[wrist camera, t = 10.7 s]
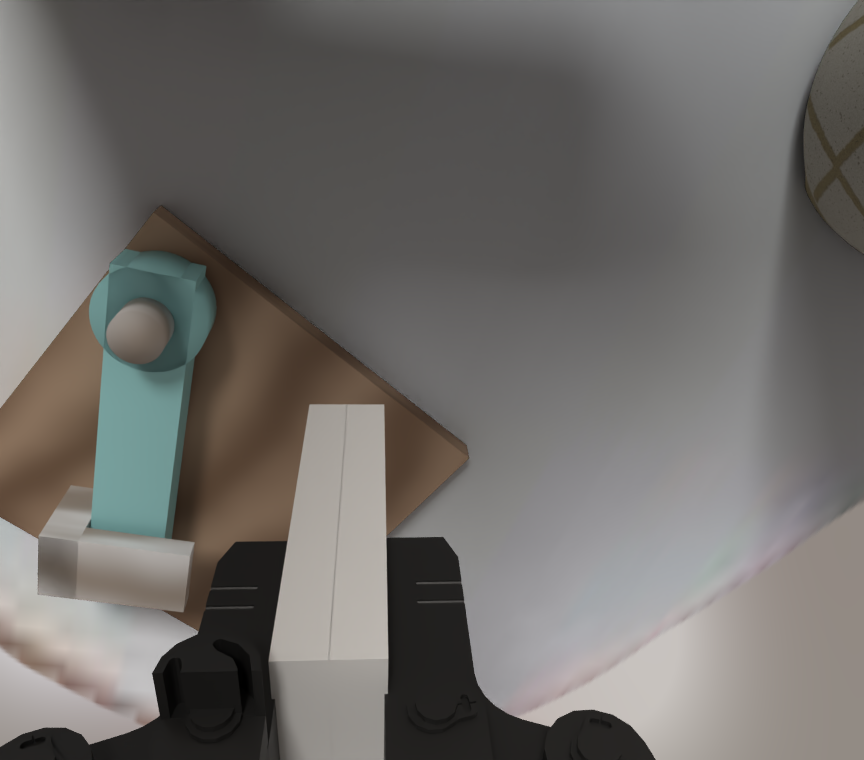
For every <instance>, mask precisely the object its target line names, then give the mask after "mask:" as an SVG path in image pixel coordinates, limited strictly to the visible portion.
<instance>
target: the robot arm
mask: <svg viewBox="0 0 864 760" xmlns="http://www.w3.org/2000/svg"><path fill="white" fill-rule="evenodd" d="M152 675H153V680H154V685H155V691H156V696H157V702H158V707H159V712H160V716H159V717H158V718H156V719H155V720H153V721H152V722H150V723H148V724H147V725H145V726H143V727H141V728H139V729H136V730H134V731H131V732H129V733H126V734H123V735H120V736H117V737H113V738H110V739H107V740H103V741H100V742H97V743H94V744H90V745H89V744H88V743H87V741H86V740H85V739H84V737H83V736H82V735H81V734H79V733H76V732H74V731H72V730H69V729H67V728H42V729H39V730H35V731H32V732H28V733H25V734H22V735H20V736H18V737H17V738H15V739H13V740H12V741H10V742H8V743H6V744H5V745H3V746H1V747H0V760H655V758H654V756H653V755H652V753H651V751H650V750H649V748H648V747H647V745H646V743H645V742H644V741H643V740H642V738H641V737H640V736H639V735H638V734H637V733H636V732H635V730H634V729H633V728H632V727H631V726H630V725H628V724H626V723H625V722H623V721H622V720H620V719H618V718H617V717H615V716H614V715H611V714H607V713H603V712H599V711H595V710H581V711H572V712H570V713H568V714H566V715H564V716H562V717H560V718H558V719H557V720H556V721H555V723H554V724H553V725H552V726H551V727H548V726H544V725H541V724H537V723H533V722H529V721H526V720H522V719H520V718H517V717H514V716H512V715H509V714H507V713H505V712H504V711H502V710H501V709H499V708H498V707H496V706H495V705H494V704H492V703H491V702H490V701H489V700H488V699H487V698H486V697H485V696H484V694H483V692H482V691H481V689H480V687H479V686H478V684H477V681H476V677H475V674H474V668H473V661H472V653H471V646H470V639H469V632H468V625H467V618H466V610H465V604H464V596H463V589H462V585H461V575H460V567H459V560H458V556H457V555H456V554H455V552H454V551H453V550H452V548H451V547H450V546H449V544H448V543H447V542H446V540H445V539H444V538H443V537H421V538H386V484H385V421H384V404H310V405H309V411H308V417H307V423H306V430H305V436H304V442H303V448H302V455H301V461H300V467H299V473H298V480H297V486H296V492H295V498H294V505H293V511H292V517H291V523H290V530H289V536H288V541H246V542H235V543H234V544H233V545H232V546H231V547H230V549H229V550H228V551H227V552H226V553H225V554H224V555H223V557H222V558H221V559H220V560H219V561H218V562H217V566H216V570H215V573H214V577H213V580H212V584H211V591H209V595H208V599H207V602H206V609H205V611H204V613H203V617H202V621H201V624H200V628H199V631H198V635H195V636H193V637H191V638H189V639H186V640H184V641H182V642H180V643H178V644H176V645H175V646H174V647H173V648H172V649H170V650H169V651H168V652H167V653H166V654H165V655H163V656H162V657H161V659H160V661H159V662H158V664H157V666H156V668H155V669H154V671H153V673H152Z"/></svg>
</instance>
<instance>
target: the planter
mask: <svg viewBox="0 0 864 760" xmlns="http://www.w3.org/2000/svg"><path fill="white" fill-rule="evenodd" d="M803 147H804V164H805V176H806V179H805V189H806V192H807V194H808V197H809V198H810V200H811V202H812V204H813V206H814V207H815V209H816V210H817V212H818V213H819V214H820V216H821V217H822V218H823V220H824V221H825V222H826V223H827V224H828V225H829V226H830V227H831V228H832V229H833V230H834V231H835V232H836V233H837V234H838V235H839V236H841V237H842V238H843V239H844V240H845V241H846V242H847V243H849V244H850V245H851V246H852V247H854V248H855V249H856V250H858V251H859V252H861V253H862V254H864V0H858V2H857V3H856V4H855V5H854V7H853V8H852V9H851V11H850V12H849V13H848V15H847V16H846V18H845V19H844V20H843V22H842V24H841V25H840V27H839V28H838V30H837V31H836V33H835V35H834V37H833V38H832V40H831V42H830V44H829V46H828V48H827V50H826V52H825V54H824V56H823V58H822V60H821V63H820V65H819V68H818V70H817V73H816V76H815V78H814V82H813V85H812V88H811V91H810V95H809V100H808V104H807V109H806V115H805V123H804V141H803Z"/></svg>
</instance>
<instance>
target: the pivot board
mask: <svg viewBox="0 0 864 760" xmlns="http://www.w3.org/2000/svg"><path fill="white" fill-rule="evenodd" d="M125 249H128V250H133V251H138V252H143V251H151V250H154V251H165V252H170V253H173V254H176V255H178V256H181V257H183V258H185V259H187V260H188V261H190V262H191V263H195V264H200V265H205V266H206V273H205V276H206V278H207V279H208V281H209V282H210V284H211V286H212V288H213V291H214V294H215V298H216V306H217V309H216V317H215V321H214V324H213V327H212V328H211V330H210V332H209V334H208V336H207V338H206V340H205V342H204V344H203V346H202V348H201V349H200V351H199V352H198V354H197V355H196V356H195V359H194V367H193V375H192V383H191V391H190V399H189V406H188V414H187V422H186V430H185V438H184V446H183V453H182V461H181V469H180V477H179V485H178V493H177V501H176V508H175V516H174V524H173V532H172V539H167V538H159V537H152V536H145V535H137V534H130V533H123V532H115V531H108V530H101V529H93V528H90V527H91V513H92V500H93V486H94V472H95V459H96V445H97V431H98V418H99V404H100V390H101V377H102V363H103V349H104V348H103V347H102V346H101V345H100V343H99V342H98V340H97V339H96V337H95V335H94V333H93V330H92V327H91V324H90V319H89V305H90V300H91V297H92V294H93V292H94V290H95V288H96V287H97V286H98V284H99V283H100V282H101V281H102V280H103V279H104V278H105V277H106V276H107V275H108V274H109V270H108V271H107V272H106V274H105V275H104V276H103V278H102V279H101V280H100V281H99V283H98V284H97V285H96V287H95V288H94V289H93V290H92V292H91V293H90V294H89V296H88V297H87V298H86V299H85V301H84V302H83V303H82V305H81V306H80V307H79V308H78V310H77V311H76V312H75V313H74V315H73V316H72V317H71V319H70V320H69V321H68V322H67V324H66V325H65V326H64V328H63V329H62V330H61V331H60V333H59V334H58V335H57V337H56V338H55V339H54V340H53V342H52V343H51V344H50V346H49V347H48V348H47V349H46V351H45V352H44V353H43V355H42V356H41V357H40V358H39V360H38V361H37V362H36V363H35V365H34V366H33V367H32V369H31V370H30V371H29V372H28V374H27V375H26V376H25V378H24V379H23V380H22V381H21V383H20V384H19V385H18V387H17V388H16V389H15V390H14V392H13V393H12V394H11V396H10V397H9V398H8V399H7V401H6V402H5V403H4V404H3V406H2V407H1V408H0V517H1V518H3V519H5V520H6V521H8V522H10V523H12V524H13V525H15V526H17V527H19V528H20V529H22V530H24V531H26V532H27V533H29V534H31V535H32V536H34V537H36V538H38V595H46V596H54V597H62V598H70V599H78V600H87V601H95V602H103V603H111V604H119V605H127V606H136V607H144V608H152V609H160V610H163V611H164V612H166V613H168V614H170V615H171V616H173V617H175V618H177V619H178V620H180V621H182V622H184V623H185V624H187V625H189V626H191V627H192V628H194V629H196V630H197V631H199V628H200V624H201V621H202V617H203V613H204V611H205V609H206V602H207V599H208V595H209V591H211V584H212V580H213V577H214V573H215V570H216V566H217V562H218V561H219V560H220V559H221V558H222V557H223V555H224V554H225V553H226V552H227V551H228V550H229V549H230V547H231V546H232V545H233V544H234V543H235V542H246V541H288V536H289V530H290V523H291V517H292V511H293V505H294V498H295V492H296V486H297V480H298V473H299V467H300V461H301V455H302V448H303V442H304V436H305V430H306V423H307V417H308V411H309V405H310V404H384V421H385V484H386V536H387V535H388V534H389V533H390V532H391V531H392V530H394V529H395V528H396V527H397V526H398V525H399V524H400V523H401V522H402V521H403V520H404V519H405V518H406V517H407V516H408V515H409V514H411V513H412V512H413V511H414V510H415V509H416V508H417V507H418V506H419V505H420V504H421V503H422V502H423V501H424V500H425V499H426V498H427V497H429V496H430V495H431V494H432V493H433V492H434V491H435V490H436V489H437V488H438V487H439V486H440V485H441V484H442V483H443V482H444V481H445V480H447V479H448V478H449V477H450V476H451V475H452V474H453V473H454V472H455V471H456V470H457V469H458V468H459V467H460V466H461V465H462V464H464V463H465V462H466V461H467V460H468V459H469V455H468V450H467V445H465V444H464V443H463V442H462V441H460V440H459V439H458V438H457V437H455V436H454V435H453V434H451V433H450V432H449V431H448V430H446V429H445V428H444V427H443V426H441V425H440V424H439V423H437V422H436V421H435V420H434V419H432V418H431V417H430V416H429V415H427V414H426V413H425V412H423V411H422V410H421V409H420V408H418V407H417V406H416V405H415V404H413V403H412V402H411V401H409V400H408V399H407V398H406V397H404V396H403V395H402V394H401V393H399V392H398V391H397V390H395V389H394V388H393V387H392V386H390V385H389V384H388V383H387V382H385V381H384V380H383V379H381V378H380V377H379V376H378V375H376V374H375V373H374V372H373V371H371V370H370V369H369V368H367V367H366V366H365V365H364V364H362V363H361V362H360V361H359V360H357V359H356V358H355V357H353V356H352V355H351V354H350V353H348V352H347V351H346V350H344V349H343V348H342V347H341V346H339V345H338V344H337V343H336V342H334V341H333V340H332V339H330V338H329V337H328V336H327V335H325V334H324V333H323V332H322V331H320V330H319V329H318V328H316V327H315V326H314V325H313V324H311V323H310V322H309V321H308V320H306V319H305V318H304V317H302V316H301V315H300V314H299V313H297V312H296V311H295V310H294V309H292V308H291V307H290V306H288V305H287V304H286V303H285V302H283V301H282V300H281V299H280V298H278V297H277V296H276V295H274V294H273V293H272V292H271V291H269V290H268V289H267V288H266V287H264V286H263V285H262V284H260V283H259V282H258V281H257V280H255V279H254V278H253V277H252V276H250V275H249V274H248V273H246V272H245V271H244V270H243V269H241V268H240V267H239V266H238V265H236V264H235V263H234V262H232V261H231V260H230V259H229V258H227V257H226V256H225V255H224V254H222V253H221V252H220V251H218V250H217V249H216V248H215V247H213V246H212V245H211V244H210V243H208V242H207V241H206V240H204V239H203V238H202V237H201V236H199V235H198V234H197V233H196V232H194V231H193V230H192V229H190V228H189V227H188V226H187V225H185V224H184V223H183V222H182V221H180V220H179V219H178V218H176V217H175V216H174V215H173V214H171V213H170V212H169V211H168V210H166V209H165V208H164V207H162V206H160V207H159V208H158V209H156V210H155V211H154V212H153V213H152V215H151V216H150V217H149V219H148V220H147V221H146V222H145V224H144V225H143V226H142V228H141V229H140V230H139V231H138V233H137V234H136V235H135V237H134V238H133V239H132V240H131V242H130V243H129V244H128V246H127V247H126V248H125ZM125 249H124V250H125ZM174 325H175V324H174V319H173V316H172V314H171V312H170V311H169V310H168V308H167V307H166V306H165V305H163V304H162V303H161V302H159V301H157V300H154V299H151V298H146V297H141V298H136V299H133V300H131V301H129V302H128V303H126V304H125V305H124V306H123V308H122V309H121V310H120V311H119V312H118V313H117V315H116V316H115V317H114V318H113V319H112V320H111V322H110V323H109V325H108V327H107V331H106V338H107V342H108V345H109V347H110V349H111V350H112V351H113V353H114V354H115V355H116V356H118V357H119V358H120V359H122V360H124V361H126V362H129V363H133V364H146V363H149V362H152V361H153V360H155V359H156V358H157V357H158V356H159V355H160V354H161V353H162V351H163V349H164V348H165V346H166V345H167V343H168V341H169V340H170V338H171V337H172V335H173V332H174Z"/></svg>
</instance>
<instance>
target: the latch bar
mask: <svg viewBox="0 0 864 760" xmlns="http://www.w3.org/2000/svg"><path fill="white" fill-rule="evenodd" d="M205 273H206V266H205V265H200V264H195V263H191V262H190V261H188V260H187V259H185V258H183V257H181V256H178V255H176V254H173V253H170V252H165V251H154V250H151V251H143V252H138V251H133V250H128V249H125V250H124V251H122V252H121V253H120V254H119V255H118V256H117V257H116V258H115V259H114V260H113V261H112V262H111V263H110V267H109V274H108V275H107V276H106V277H105V278H104V279H103V280H102V281H101V282H100V283H99V284H98V286H97V287H96V288H95V290H94V292H93V294H92V297H91V300H90V305H89V319H90V324H91V327H92V330H93V333H94V335H95V337H96V339H97V340H98V342H99V343H100V345H101V346H102V347H103V348H104V349H103V363H102V377H101V390H100V404H99V418H98V431H97V445H96V459H95V472H94V486H93V500H92V513H91V527H90V528H93V529H101V530H108V531H115V532H123V533H130V534H137V535H145V536H152V537H159V538H167V539H172V532H173V524H174V516H175V508H176V501H177V493H178V485H179V477H180V469H181V461H182V453H183V446H184V438H185V430H186V422H187V414H188V406H189V399H190V391H191V383H192V375H193V367H194V359H195V356H196V355H197V354H198V352H199V351H200V349H201V348H202V346H203V344H204V342H205V340H206V338H207V336H208V334H209V332H210V330H211V328H212V327H213V324H214V321H215V317H216V309H217V306H216V298H215V294H214V291H213V288H212V286H211V284H210V282H209V281H208V279H207V278H206V276H205ZM141 297H146V298H151V299H154V300H157V301H159V302H161V303H162V304H163V305H165V306H166V307H167V308H168V310H169V311H170V312H171V314H172V316H173V319H174V324H175V325H174V332H173V335H172V337H171V338H170V340H169V341H168V343H167V345H166V346H165V348H164V349H163V351H162V353H161V354H160V355H159V356H158V357H157V358H156V359H155V360H153V361H152V362H149V363H146V364H133V363H129V362H126V361H124V360H122V359H120V358H119V357H118V356H116V355H115V354H114V353H113V351H112V350H111V349H110V347H109V345H108V342H107V338H106V331H107V327H108V325H109V323H110V322H111V320H112V319H113V318H114V317H115V316H116V315H117V313H118V312H119V311H120V310H121V309H122V308H123V306H124V305H125V304H126V303H128V302H129V301H131V300H133V299H136V298H141Z"/></svg>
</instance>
